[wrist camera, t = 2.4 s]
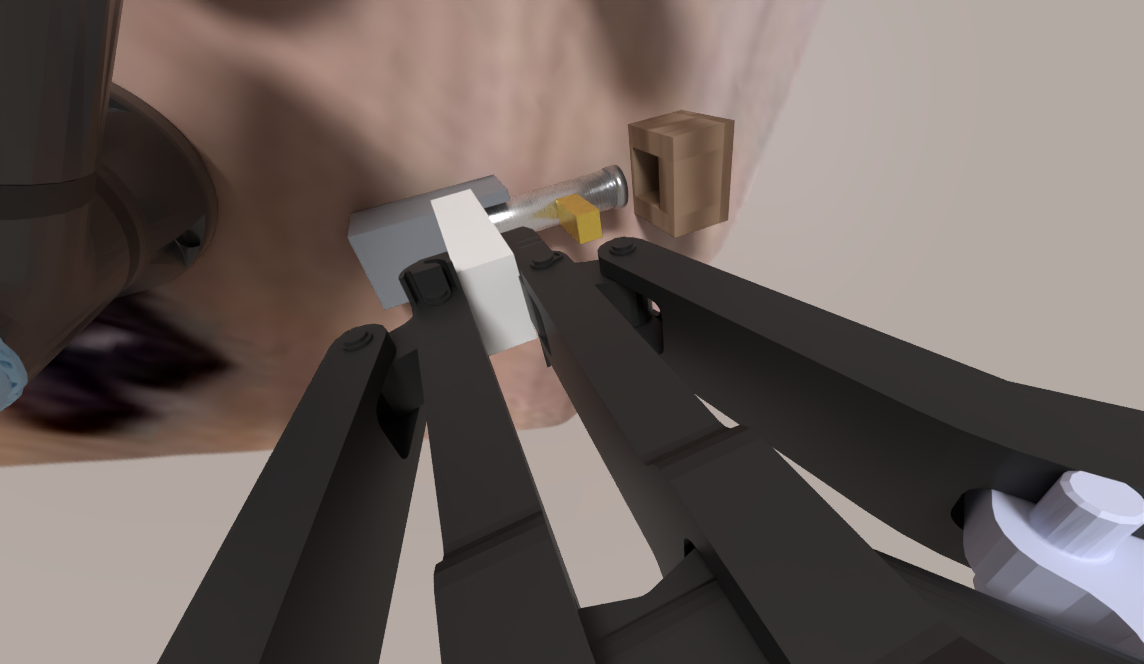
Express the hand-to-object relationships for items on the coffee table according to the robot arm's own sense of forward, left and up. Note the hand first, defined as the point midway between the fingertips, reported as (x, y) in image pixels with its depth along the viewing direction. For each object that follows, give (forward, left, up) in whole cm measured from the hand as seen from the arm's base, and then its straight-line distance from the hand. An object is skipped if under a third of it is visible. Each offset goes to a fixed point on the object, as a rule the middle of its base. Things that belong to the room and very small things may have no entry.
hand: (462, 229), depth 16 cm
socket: (+21, -8, -24) cm, 33 cm away
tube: (+5, -8, -24) cm, 26 cm away
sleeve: (-1, -8, -24) cm, 25 cm away
